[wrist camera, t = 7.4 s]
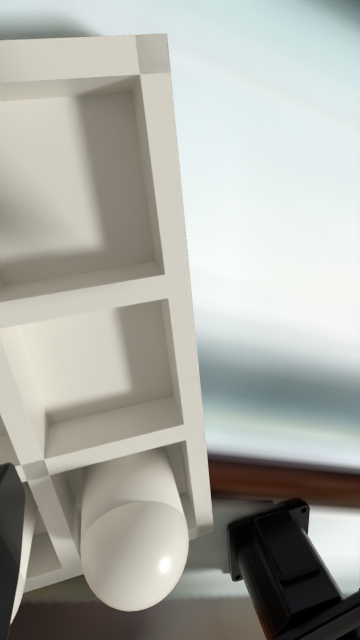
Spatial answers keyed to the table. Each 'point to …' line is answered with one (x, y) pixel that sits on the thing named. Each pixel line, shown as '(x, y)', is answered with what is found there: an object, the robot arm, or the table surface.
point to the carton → (98, 319)
